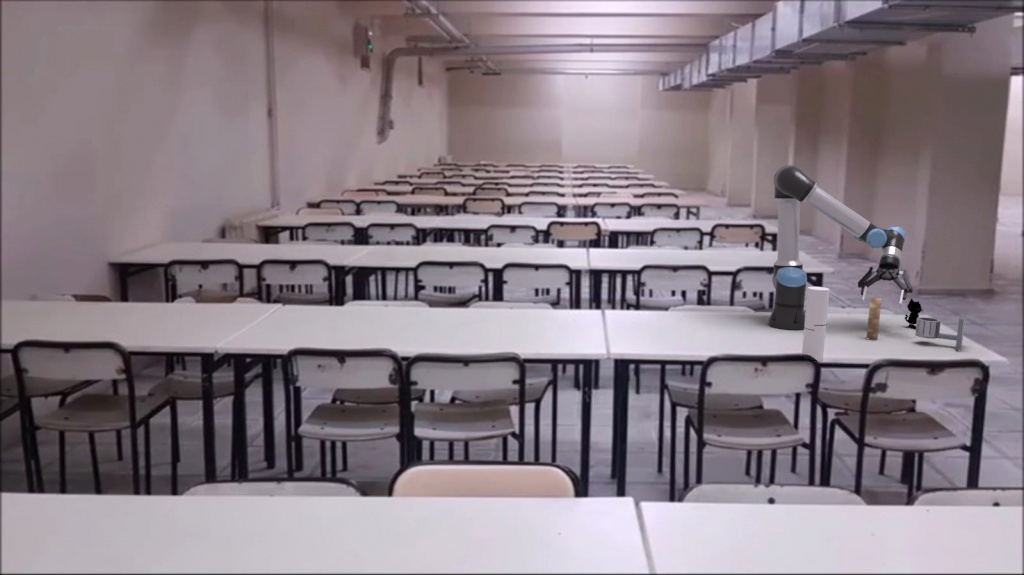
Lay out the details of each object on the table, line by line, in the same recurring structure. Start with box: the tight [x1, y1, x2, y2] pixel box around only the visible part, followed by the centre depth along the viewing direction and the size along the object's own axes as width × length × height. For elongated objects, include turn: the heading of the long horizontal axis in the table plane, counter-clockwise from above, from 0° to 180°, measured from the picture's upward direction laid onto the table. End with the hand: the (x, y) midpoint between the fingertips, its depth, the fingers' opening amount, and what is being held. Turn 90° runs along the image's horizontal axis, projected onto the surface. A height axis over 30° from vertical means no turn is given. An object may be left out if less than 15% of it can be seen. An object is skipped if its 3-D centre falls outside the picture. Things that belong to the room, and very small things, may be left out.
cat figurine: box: [904, 297, 924, 330], centre depth 374 cm, size 7×7×12 cm
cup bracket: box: [915, 313, 967, 351], centre depth 343 cm, size 16×12×12 cm
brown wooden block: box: [865, 296, 883, 340], centre depth 350 cm, size 4×4×16 cm
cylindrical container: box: [801, 286, 830, 362], centre depth 315 cm, size 7×7×25 cm
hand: (881, 303), depth 354 cm, fingers open, 13 cm apart
